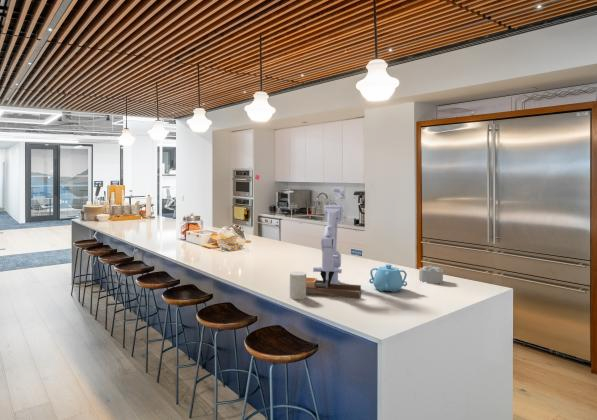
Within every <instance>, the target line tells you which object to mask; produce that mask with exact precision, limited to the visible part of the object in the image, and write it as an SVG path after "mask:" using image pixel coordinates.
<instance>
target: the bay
mask: <svg viewBox="0 0 597 420" xmlns="http://www.w3.org/2000/svg"><path fill="white" fill-rule="evenodd" d="M318 284H324V283H318ZM361 291H362V286H361V284H346V283H339V284H335V283H330V287H328V289H325V287H322V286H317V288H308V287H306V296H308V295H309V296H321V297H336V298H350V299H360V297H361Z"/></svg>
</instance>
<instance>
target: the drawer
mask: <svg viewBox="0 0 597 420" xmlns="http://www.w3.org/2000/svg"><path fill="white" fill-rule="evenodd" d="M328 281H329V279H326V281H325V284H318V283H324V282H323V279H322V280H321V279H318V278H317V277H307V276H306V287H308V288H317V286H322V287H325V289H328Z"/></svg>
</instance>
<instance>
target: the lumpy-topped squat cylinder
mask: <svg viewBox="0 0 597 420" xmlns="http://www.w3.org/2000/svg"><path fill="white" fill-rule="evenodd" d="M418 270H419V273H418V274H419V275H418V281H419V280H420V281H419V282H421V281H422V282H421V283H424V282H427V283H426V284H430V283H443V281H444V271H443V268H441V267H439V266H434V265H424V266H422V267H419V269H418Z"/></svg>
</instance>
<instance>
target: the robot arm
mask: <svg viewBox="0 0 597 420" xmlns="http://www.w3.org/2000/svg"><path fill="white" fill-rule="evenodd" d="M323 213H324V218H325V220H326V221H327V222H326V223H327V224H326V226H325V227H324V231H323V236H322V238H321V240H320V241H321V242H320V246H321V252H322V253H321V267H319V266H318V267H316V266H315V267H313V268H312V271H313V273H316V272H318V273H320V276H321V279H322V280H323V282H324V284H325V281H326V279H329V281H328V287H330V283H335V284H340V280H339V274H342V271H343V270H342V268H341V266H342V254H341V253H340V252H339V251H338V250H337V247H338V246H337V244H338V243H337V242H338V241H337V240H338V226H339V225H338V224H339V223H340V221H342V219H343V206H342V205H341V204H340V205H336V204H335V205H334V204H333V205H331V204H325V205H324V209H323Z"/></svg>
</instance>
